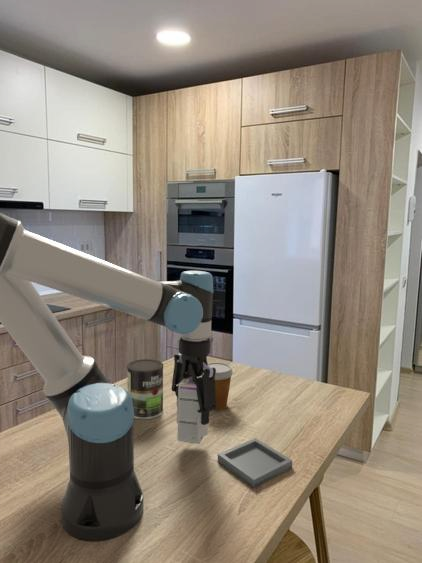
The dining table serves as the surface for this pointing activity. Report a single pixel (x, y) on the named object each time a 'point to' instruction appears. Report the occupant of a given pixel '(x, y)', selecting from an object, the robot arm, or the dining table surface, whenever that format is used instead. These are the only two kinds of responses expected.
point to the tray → (254, 462)
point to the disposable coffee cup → (221, 383)
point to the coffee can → (146, 388)
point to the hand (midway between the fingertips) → (191, 428)
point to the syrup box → (188, 411)
